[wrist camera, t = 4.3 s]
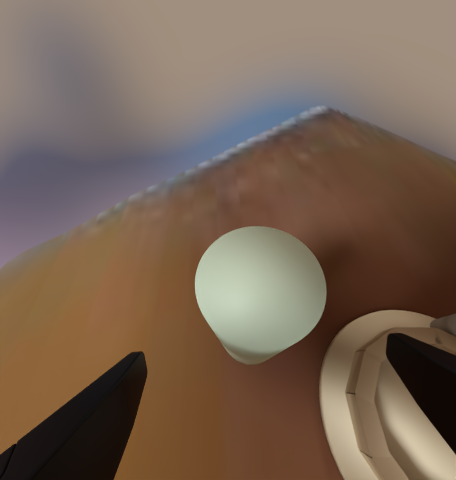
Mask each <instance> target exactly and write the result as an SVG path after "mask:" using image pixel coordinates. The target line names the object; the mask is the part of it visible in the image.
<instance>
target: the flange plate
mask: <svg viewBox="0 0 456 480" xmlns="http://www.w3.org/2000/svg"><path fill="white" fill-rule="evenodd" d="M390 333H403V334H406V335H408V336H410V337H413V338H415V339H418V340H420V341H422V342H425V343H427V344H430V345H432V346H434V347H437V348H439V349H442V350H444V351H446V352H449V353H451V354H454V355H456V313H455V314H452V315H448V316H445V317H441V318H438V319H435V318H433V317H430V316H427V315H423V314H420V313H415V312H410V311H403V310H384V311H378V312H373V313H370V314H367V315H364V316H362V317H360V318H358V319H356V320H354V321H352V322H350V323H349V324H347V325H346V326H345V327H343V328H342V329H341V330H340V331H339V332H338V333H337V334H336V336H335V337H334V338H333V339H332V341H331V343H330V344H329V346H328V348H327V350H326V353H325V355H324V358H323V361H322V365H321V369H320V377H319V404H320V412H321V418H322V423H323V427H324V432H325V435H326V438H327V441H328V444H329V447H330V450H331V453H332V455H333V458H334V460H335V462H336V465H337V467H338V469H339V471H340V473H341V475H342V477H343V479H344V480H456V455H455V453H454V452H453V451H452V449H451V448H450V447H449V445H448V444H447V443H446V442H445V440H444V439H443V438H442V436H441V435H440V434H439V432H438V431H437V430H436V429H435V427H434V426H433V425H432V423H431V422H430V421H429V419H428V418H427V417H426V416H425V414H424V413H423V412H422V410H421V409H420V407H419V406H418V405H417V403H416V402H415V400H414V399H413V397H412V396H411V394H410V393H409V391H408V390H407V388H406V387H405V385H404V384H403V382H402V381H401V379H400V378H399V376H398V375H397V373H396V372H395V370H394V368H393V367H392V365H391V364H390V362H389V361H388V359H387V356H386V344H387V336H388V334H390Z"/></svg>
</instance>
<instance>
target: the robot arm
mask: <svg viewBox="0 0 456 480" xmlns="http://www.w3.org/2000/svg"><path fill="white" fill-rule="evenodd" d="M386 356H387V359H388V361H389V362H390V364H391V365H392V367H393V368H394V370H395V372H396V373H397V375H398V376H399V378H400V379H401V381H402V382H403V384H404V385H405V387H406V388H407V390H408V391H409V393H410V394H411V396H412V397H413V399H414V400H415V402H416V403H417V405H418V406H419V407H420V409H421V410H422V412H423V413H424V414H425V416H426V417H427V418H428V419H429V421H430V422H431V423H432V425H433V426H434V427H435V429H436V430H437V431H438V432H439V434H440V435H441V436H442V438H443V439H444V440H445V442H446V443H447V444H448V445H449V447H450V448H451V449H452V451H453V452H454V453H455V455H456V355H454V354H451V353H449V352H446V351H444V350H442V349H439V348H437V347H434V346H432V345H430V344H427V343H425V342H422V341H420V340H418V339H415V338H413V337H410V336H408V335H406V334H403V333H390V334H388V336H387V344H386ZM146 378H147V366H146V361H145V356H144V353H143V352H141V351H140V352H131V353H130V354H128V355H127V356H126V357H125V358H123V359H122V360H121V361H120V362H118V363H117V364H116V365H114V366H113V367H112V368H111V369H109V370H108V371H107V372H105V373H104V374H103V375H102V376H100V377H99V378H98V379H97V380H95V381H94V382H93V383H91V384H90V385H89V386H88V387H86V388H85V389H84V390H82V391H81V392H80V393H79V394H77V395H76V396H75V397H73V398H72V399H71V400H70V401H68V402H67V403H66V404H65V405H63V406H62V407H61V408H59V409H58V410H57V411H56V412H54V413H53V414H52V415H50V416H49V417H48V418H47V419H45V420H44V421H43V422H41V423H40V424H39V425H38V426H36V427H35V428H34V429H33V430H31V431H30V432H29V433H27V434H26V435H25V436H24V437H22V438H21V439H20V440H19V441H18V442H17V444H13V445H12V446H11V447H9V448H8V449H7V450H6V451H4V452H3V453H2V454H0V480H114V477H115V474H116V472H117V469H118V466H119V464H120V461H121V458H122V455H123V453H124V450H125V447H126V445H127V442H128V439H129V436H130V434H131V431H132V428H133V425H134V422H135V418H136V415H137V411H138V407H139V404H140V400H141V396H142V393H143V389H144V385H145V382H146Z"/></svg>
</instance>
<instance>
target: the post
mask: <svg viewBox="0 0 456 480" xmlns="http://www.w3.org/2000/svg"><path fill="white" fill-rule="evenodd" d="M195 292H196V298H197V302H198V305H199V307H200V310H201V312H202V314H203V316H204V317H205V319H206V321H207V322H208V324H209V325H210V327H211V328H212V330H213V331H214V333H215V334H216V336H217V337H218V339H219V340H220V342H221V343H222V345H223V346H224V348H225V349H226V351H227V352H228V353H229V355H230V356H231V357H232V358H234V359H235V360H237V361H238V362H240V363H243V364H247V365H256V364H260V363H263V362H265V361H266V360H268V359H270V358H271V357H273V356H275V355H276V354H278V353H280V352H281V351H283V350H285V349H286V348H288V347H290V346H291V345H293V344H295V343H296V342H298V341H300V340H301V339H303V338H304V337H305V336H306V335H308V334H309V333H310V332H311V331H312V329H313V328H314V327H315V326H316V324H317V323H318V321H319V320H320V318H321V315H322V313H323V311H324V307H325V303H326V295H327V292H326V282H325V277H324V274H323V271H322V268H321V266H320V264H319V262H318V260H317V259H316V257H315V256H314V254H313V253H312V252H311V251H310V249H309V248H308V247H306V246H305V245H304V244H303V243H302V242H301V241H299V240H298V239H297V238H295V237H293V236H292V235H290V234H288V233H286V232H284V231H281V230H278V229H274V228H270V227H262V226H252V227H244V228H240V229H236V230H233V231H231V232H229V233H227V234H225V235H223V236H221V237H220V238H219V239H217V240H216V241H215V242H214V243H213V244H212V245H211V246H210V247H209V248H208V249H207V250H206V252H205V253H204V255H203V256H202V258H201V260H200V263H199V265H198V268H197V271H196V277H195Z"/></svg>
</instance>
